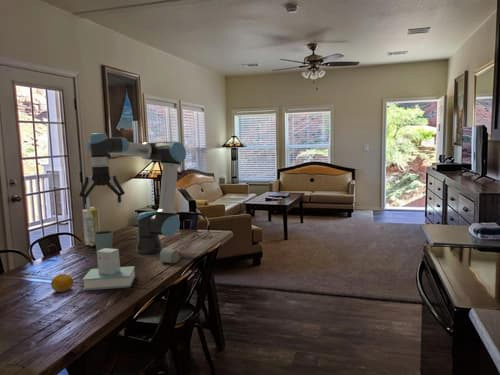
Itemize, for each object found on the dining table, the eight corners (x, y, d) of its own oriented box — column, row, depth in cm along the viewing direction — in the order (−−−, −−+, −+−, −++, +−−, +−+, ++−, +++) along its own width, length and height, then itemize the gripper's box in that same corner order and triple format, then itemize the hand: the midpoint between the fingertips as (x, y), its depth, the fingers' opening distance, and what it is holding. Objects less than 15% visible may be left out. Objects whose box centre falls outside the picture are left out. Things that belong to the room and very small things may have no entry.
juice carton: (102, 243, 248) (100, 206, 245) (92, 246, 241) (89, 208, 239) (93, 242, 253) (91, 205, 250) (82, 245, 246) (80, 207, 244)
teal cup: (91, 253, 226) (90, 233, 225) (104, 249, 236) (103, 229, 234) (105, 255, 223) (104, 234, 221) (117, 250, 232) (116, 230, 230)
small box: (120, 271, 178) (119, 248, 176) (112, 275, 172) (111, 252, 171) (106, 269, 180) (104, 247, 179) (98, 273, 175) (96, 251, 174)
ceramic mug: (172, 265, 200) (172, 251, 199) (159, 264, 203) (158, 249, 202) (183, 259, 210) (183, 246, 209) (170, 258, 213) (170, 244, 212)
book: (91, 279, 182) (91, 269, 182) (135, 276, 185) (134, 266, 184) (83, 290, 169) (82, 279, 168) (130, 287, 171) (129, 276, 171)
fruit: (55, 288, 162) (59, 270, 166) (45, 292, 166) (49, 274, 170) (74, 292, 168) (78, 273, 172) (64, 295, 172) (68, 277, 176)
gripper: (70, 167, 178) (73, 212, 180) (126, 165, 181) (128, 210, 183) (75, 166, 185) (78, 210, 188) (128, 164, 188) (131, 207, 191)
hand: (103, 210), depth 185 cm, fingers open, 13 cm apart
